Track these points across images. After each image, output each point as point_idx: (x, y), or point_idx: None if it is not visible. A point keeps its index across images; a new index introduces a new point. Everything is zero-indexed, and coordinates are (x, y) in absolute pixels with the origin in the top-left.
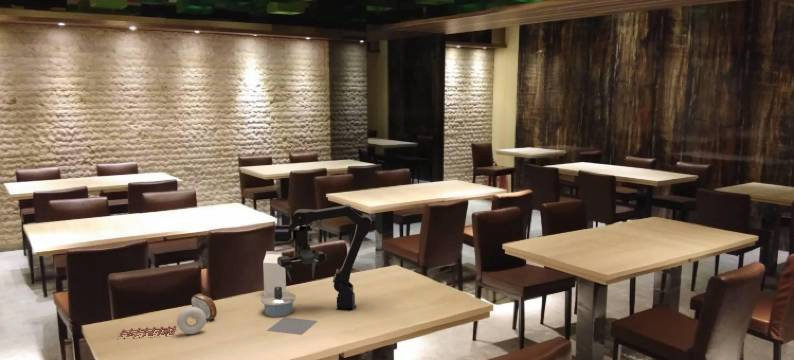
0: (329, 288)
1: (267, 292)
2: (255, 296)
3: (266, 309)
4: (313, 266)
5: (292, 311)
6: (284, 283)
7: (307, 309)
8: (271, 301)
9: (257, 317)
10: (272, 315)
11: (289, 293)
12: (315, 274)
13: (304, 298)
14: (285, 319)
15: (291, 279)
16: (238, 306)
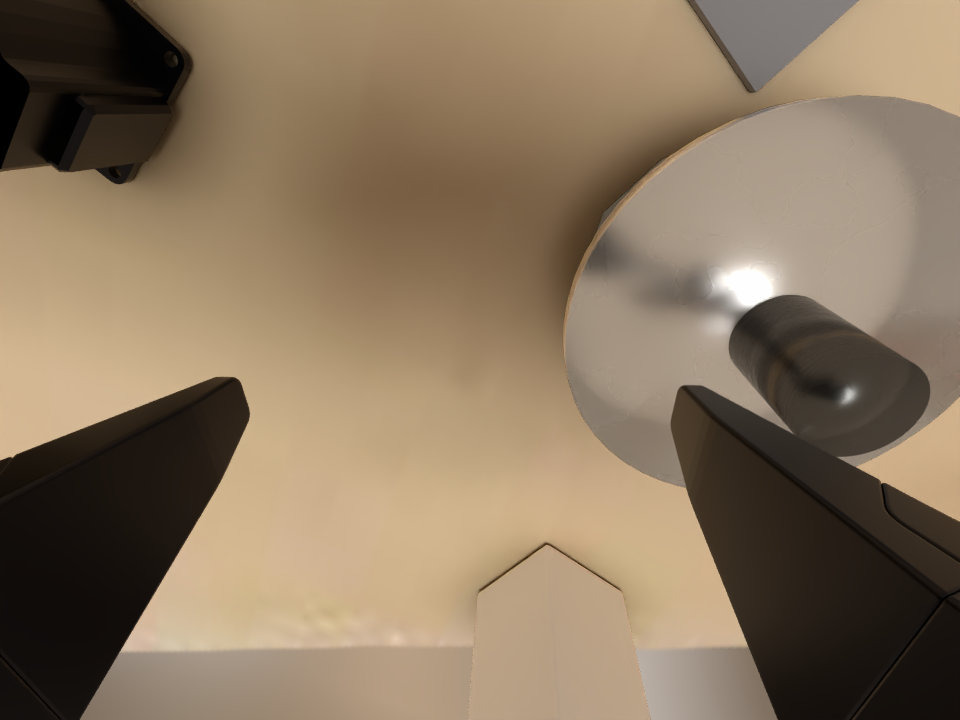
0: (206, 539)
1: (613, 607)
2: (665, 611)
3: None
4: (34, 623)
5: (610, 211)
6: (488, 648)
7: (452, 235)
8: (952, 234)
9: None
10: None
11: (598, 400)
12: (146, 406)
13: (402, 463)
14: (789, 1)
15: (730, 404)
16: None
